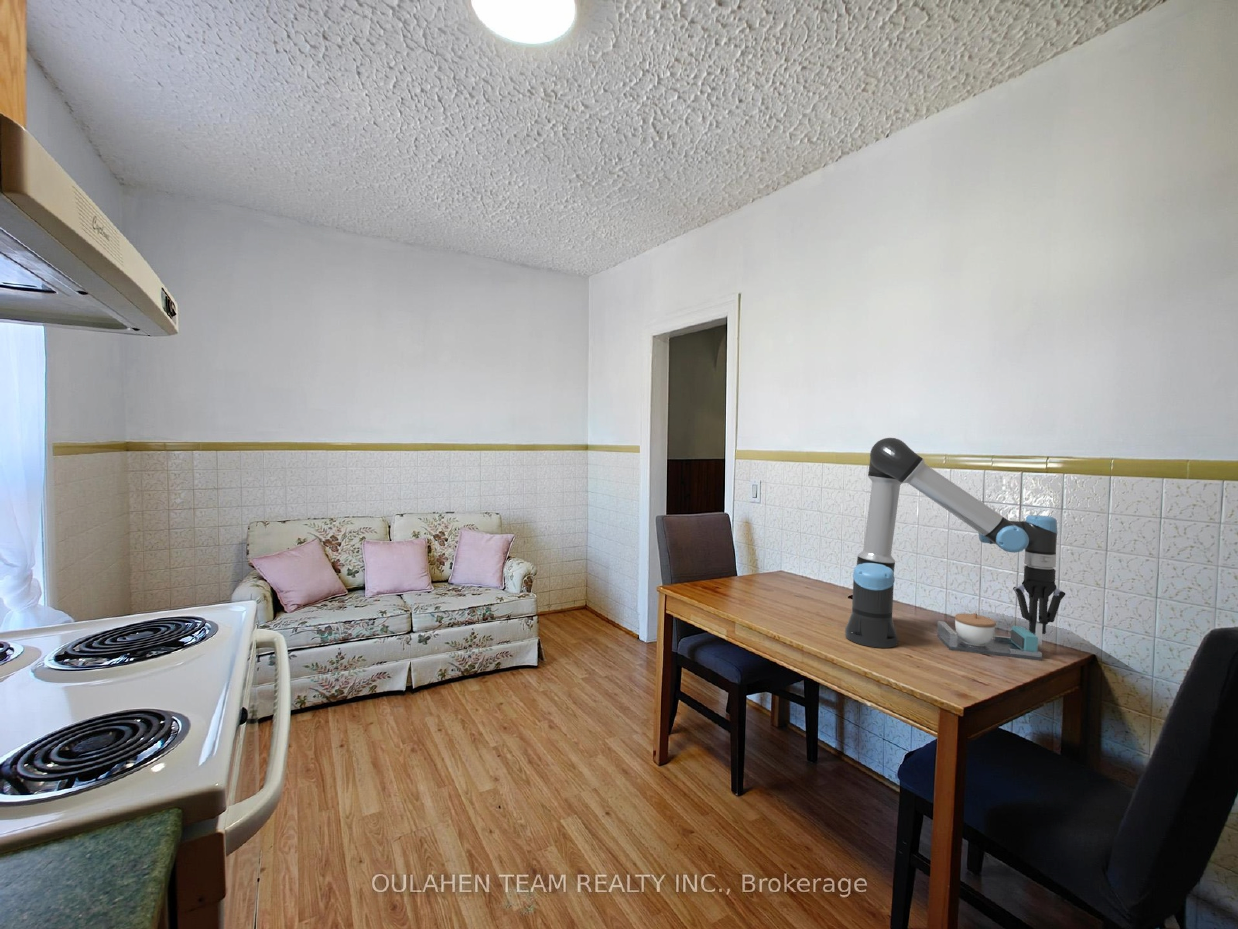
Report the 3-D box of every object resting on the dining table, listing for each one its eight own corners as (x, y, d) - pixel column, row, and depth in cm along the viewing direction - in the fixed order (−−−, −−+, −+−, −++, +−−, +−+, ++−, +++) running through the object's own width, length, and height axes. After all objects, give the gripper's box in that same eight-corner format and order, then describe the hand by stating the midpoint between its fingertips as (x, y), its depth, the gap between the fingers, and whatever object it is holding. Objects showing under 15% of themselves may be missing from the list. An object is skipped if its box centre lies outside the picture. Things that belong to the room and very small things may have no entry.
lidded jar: (993, 652, 162) (995, 621, 162) (951, 643, 169) (953, 613, 168) (995, 642, 171) (997, 613, 170) (955, 634, 177) (957, 606, 177)
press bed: (949, 649, 166) (950, 633, 166) (937, 636, 178) (937, 621, 178) (1041, 660, 159) (1042, 643, 159) (1022, 645, 172) (1022, 629, 171)
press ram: (1022, 652, 162) (1023, 636, 161) (1009, 641, 171) (1009, 625, 171) (1037, 654, 161) (1038, 637, 160) (1022, 642, 170) (1023, 627, 170)
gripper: (1020, 567, 162) (1017, 645, 163) (1071, 571, 159) (1068, 650, 159) (1009, 562, 170) (1006, 637, 170) (1059, 565, 166) (1056, 642, 167)
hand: (1036, 643), depth 165 cm, fingers closed
